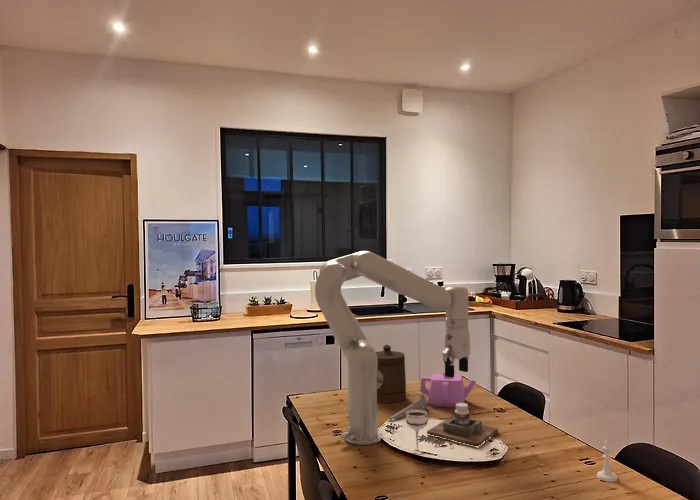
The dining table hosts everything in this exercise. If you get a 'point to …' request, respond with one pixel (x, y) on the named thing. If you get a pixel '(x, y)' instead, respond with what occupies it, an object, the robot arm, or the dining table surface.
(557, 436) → the dining table surface
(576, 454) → the dining table surface
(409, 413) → the wineglass
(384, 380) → the wooden container
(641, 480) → the dining table surface
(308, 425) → the dining table surface
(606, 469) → the chess piece
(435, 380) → the teakettle
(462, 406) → the pill bottle
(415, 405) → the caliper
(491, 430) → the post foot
